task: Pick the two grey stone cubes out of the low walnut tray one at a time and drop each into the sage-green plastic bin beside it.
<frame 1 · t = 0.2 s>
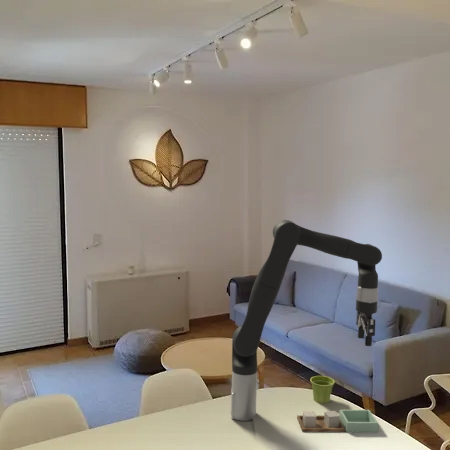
hand: (364, 341, 189), 29 cm above the table, fingers open, 8 cm apart
tray: (320, 426, 183), on the table
stone a: (309, 424, 183), point 1 cm above the table, touching tray
plant pot: (321, 401, 204), on the table
bin: (357, 426, 184), on the table
stone b: (331, 424, 184), point 1 cm above the table, touching tray
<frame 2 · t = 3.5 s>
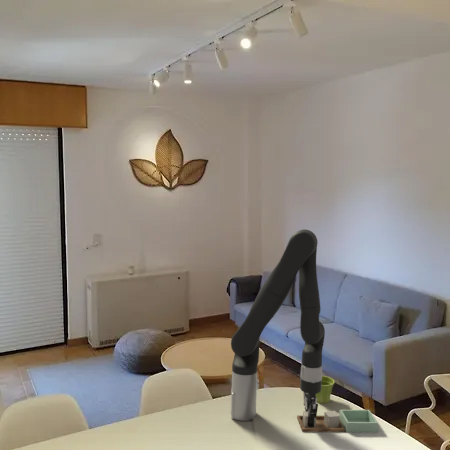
hand: (309, 423, 183), 1 cm above the table, fingers closed on stone a, 4 cm apart
stone a: (309, 424, 183), point 1 cm above the table, touching gripper, tray
everything else where it was.
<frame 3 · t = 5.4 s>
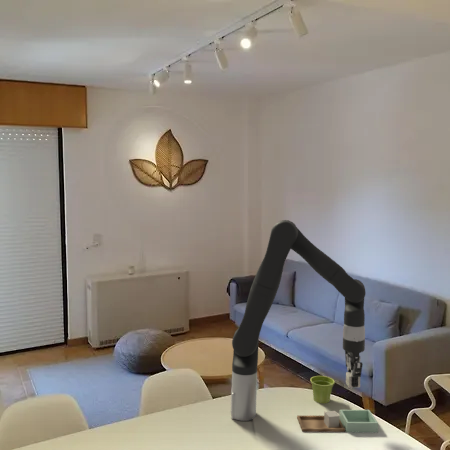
hand: (352, 383, 182), 16 cm above the table, fingers closed on stone a, 4 cm apart
stone a: (352, 385, 182), point 16 cm above the table, touching gripper
everything else where it was.
when the fingers open (5 cm above the table, at t = 7.5 s): stone a drops 4 cm, resting on bin.
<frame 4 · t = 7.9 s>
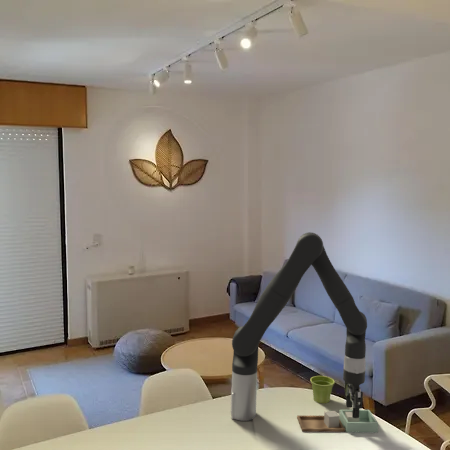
hand: (352, 412, 183), 5 cm above the table, fingers open, 7 cm apart
stone a: (351, 425, 183), point 1 cm above the table, touching bin
everything else where it was.
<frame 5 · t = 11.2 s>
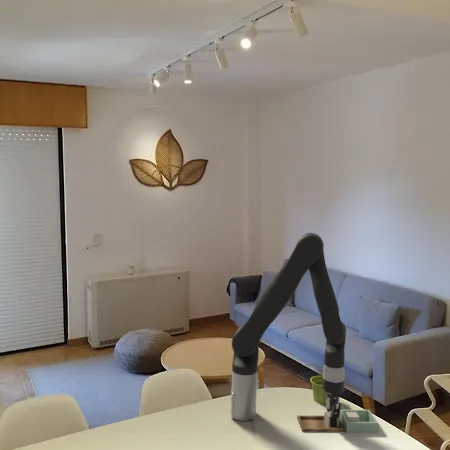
hand: (331, 422, 183), 1 cm above the table, fingers closed on stone b, 4 cm apart
stone b: (331, 424, 184), point 1 cm above the table, touching gripper, tray
everything else where it was.
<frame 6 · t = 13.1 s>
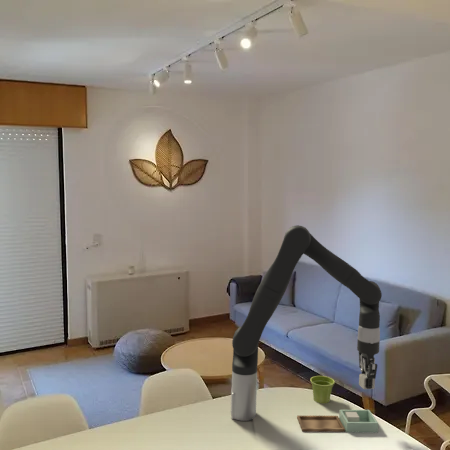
hand: (366, 385, 182), 16 cm above the table, fingers closed on stone b, 4 cm apart
stone b: (366, 386, 182), point 15 cm above the table, touching gripper
everything else where it was.
when the fingers open (5 cm above the table, at t = 15.1 s): stone b drops 4 cm, resting on bin.
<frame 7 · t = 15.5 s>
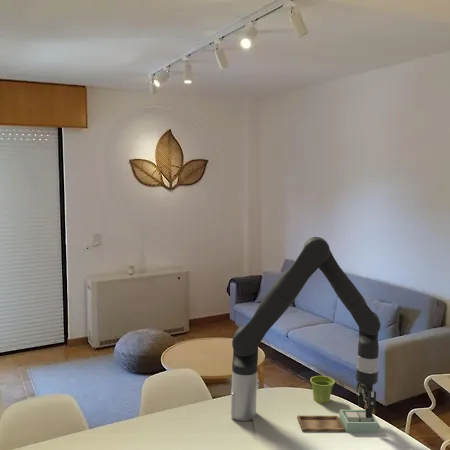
hand: (365, 412, 183), 6 cm above the table, fingers open, 8 cm apart
stone b: (364, 425, 184), point 1 cm above the table, touching bin
everything else where it was.
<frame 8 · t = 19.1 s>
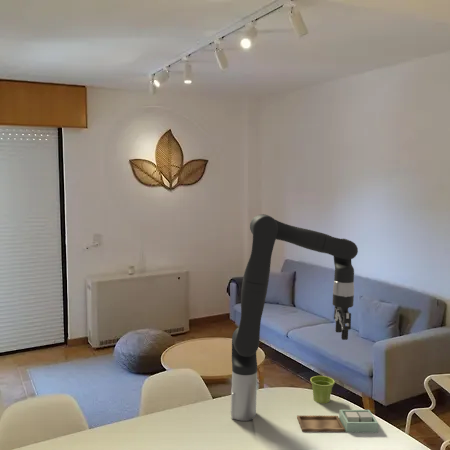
hand: (341, 335, 191), 30 cm above the table, fingers open, 8 cm apart
nothing on the table moved.
at the end: stone a inside the target area on the bin (2.3 cm from its centre), point 0.6 cm above the bin's base; stone b inside the target area on the bin (2.3 cm from its centre), point 0.6 cm above the bin's base; the gripper is holding nothing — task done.
